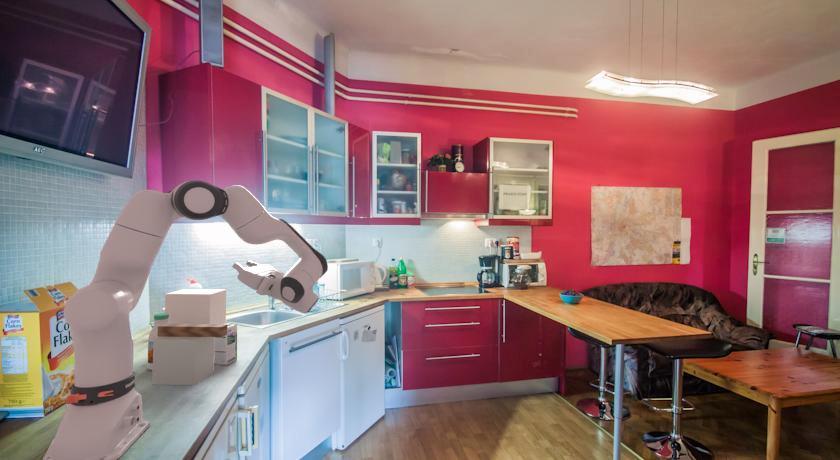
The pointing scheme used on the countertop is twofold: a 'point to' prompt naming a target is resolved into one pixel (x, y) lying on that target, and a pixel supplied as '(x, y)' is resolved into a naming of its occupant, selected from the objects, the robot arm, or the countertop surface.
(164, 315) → the milk bottle
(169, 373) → the box
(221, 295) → the white box
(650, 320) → the countertop surface
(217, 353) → the syrup box
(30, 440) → the countertop surface
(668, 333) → the countertop surface
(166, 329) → the walnut rail
